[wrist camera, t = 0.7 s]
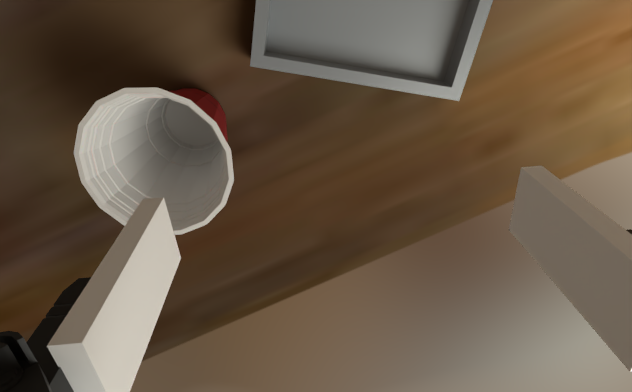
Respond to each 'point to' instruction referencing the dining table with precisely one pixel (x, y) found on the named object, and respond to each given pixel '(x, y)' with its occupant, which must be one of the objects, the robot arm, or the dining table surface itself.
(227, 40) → the dining table surface
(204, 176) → the plastic cup
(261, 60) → the tray
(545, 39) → the dining table surface
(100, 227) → the dining table surface
